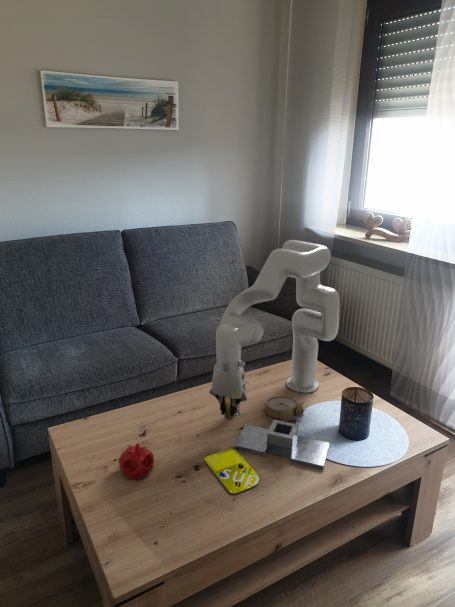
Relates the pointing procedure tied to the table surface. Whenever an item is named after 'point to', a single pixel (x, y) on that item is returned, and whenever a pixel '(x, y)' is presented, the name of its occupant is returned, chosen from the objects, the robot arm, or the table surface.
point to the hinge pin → (228, 408)
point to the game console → (232, 471)
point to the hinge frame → (283, 444)
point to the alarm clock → (284, 408)
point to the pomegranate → (136, 461)
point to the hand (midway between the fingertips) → (228, 413)
